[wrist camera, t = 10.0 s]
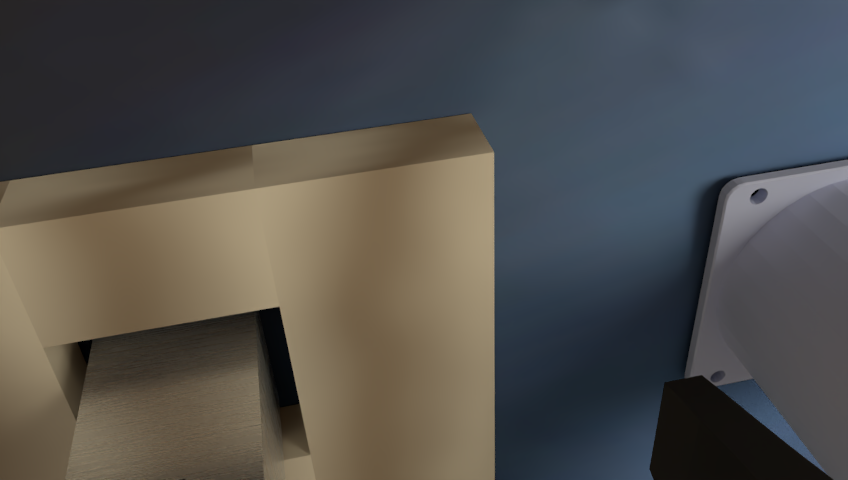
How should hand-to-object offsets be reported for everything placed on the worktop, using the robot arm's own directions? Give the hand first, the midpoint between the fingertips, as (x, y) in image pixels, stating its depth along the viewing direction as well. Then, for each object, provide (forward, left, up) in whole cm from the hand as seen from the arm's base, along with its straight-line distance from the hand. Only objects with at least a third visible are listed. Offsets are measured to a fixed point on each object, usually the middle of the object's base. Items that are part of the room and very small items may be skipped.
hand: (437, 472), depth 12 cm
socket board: (+5, +5, -9) cm, 12 cm away
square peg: (+5, +5, -10) cm, 12 cm away
